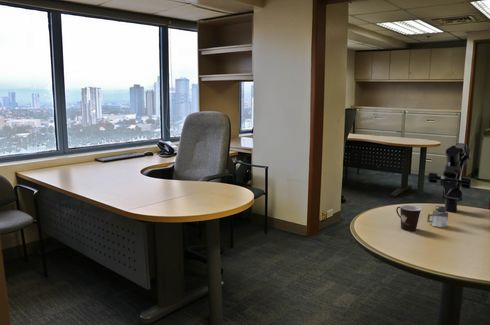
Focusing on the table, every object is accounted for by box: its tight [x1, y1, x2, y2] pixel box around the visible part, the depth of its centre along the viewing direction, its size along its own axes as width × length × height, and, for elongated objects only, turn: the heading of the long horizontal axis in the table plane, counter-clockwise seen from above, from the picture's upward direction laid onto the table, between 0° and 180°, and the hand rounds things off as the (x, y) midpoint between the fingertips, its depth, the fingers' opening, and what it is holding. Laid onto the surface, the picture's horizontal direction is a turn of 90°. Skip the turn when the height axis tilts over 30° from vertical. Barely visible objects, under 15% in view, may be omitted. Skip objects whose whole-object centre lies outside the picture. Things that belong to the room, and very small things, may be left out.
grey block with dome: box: [426, 210, 449, 229], centre depth 187 cm, size 7×8×6 cm
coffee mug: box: [395, 204, 422, 232], centre depth 182 cm, size 12×9×10 cm
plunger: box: [435, 205, 447, 214], centre depth 186 cm, size 5×5×8 cm
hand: (445, 194), depth 190 cm, fingers closed
